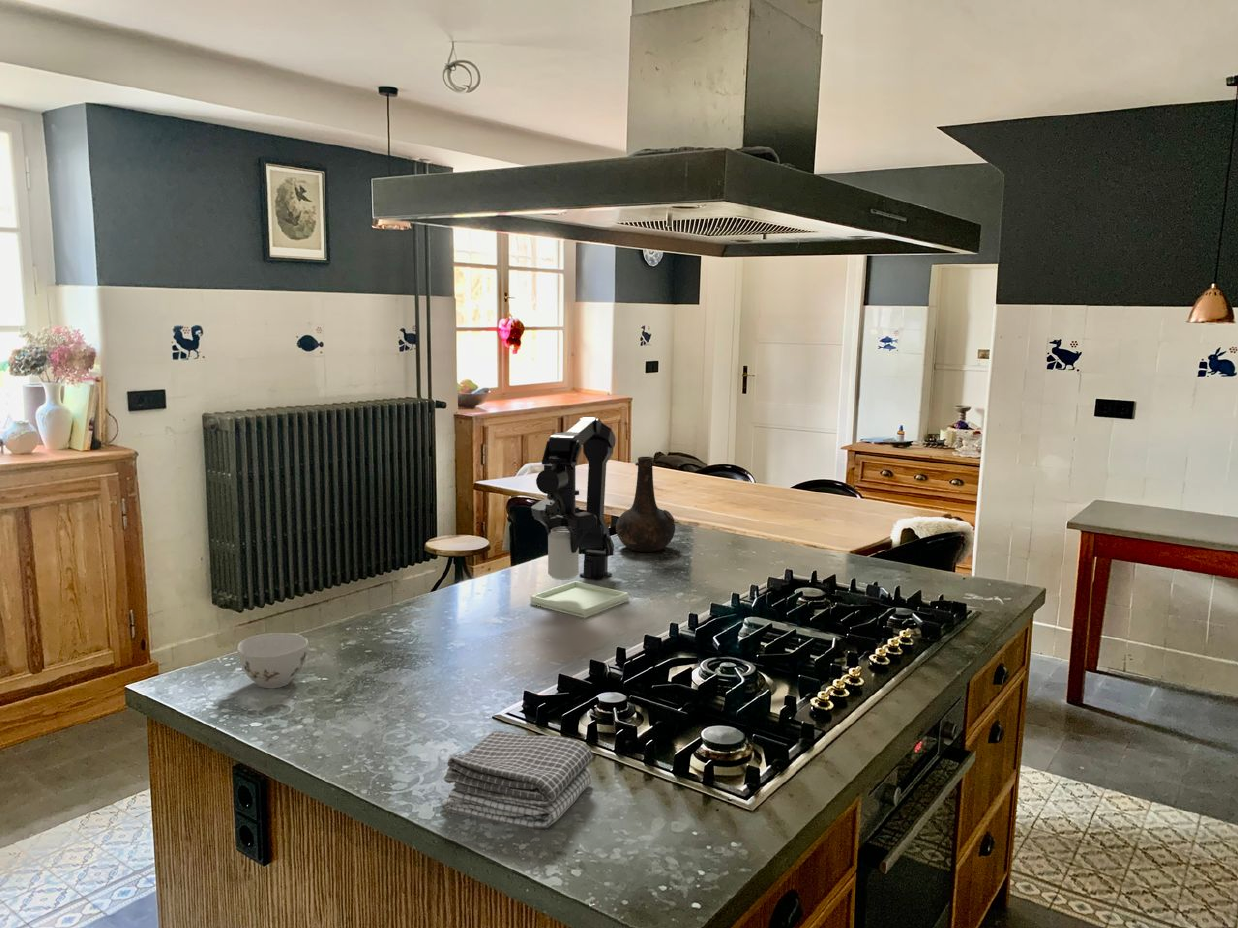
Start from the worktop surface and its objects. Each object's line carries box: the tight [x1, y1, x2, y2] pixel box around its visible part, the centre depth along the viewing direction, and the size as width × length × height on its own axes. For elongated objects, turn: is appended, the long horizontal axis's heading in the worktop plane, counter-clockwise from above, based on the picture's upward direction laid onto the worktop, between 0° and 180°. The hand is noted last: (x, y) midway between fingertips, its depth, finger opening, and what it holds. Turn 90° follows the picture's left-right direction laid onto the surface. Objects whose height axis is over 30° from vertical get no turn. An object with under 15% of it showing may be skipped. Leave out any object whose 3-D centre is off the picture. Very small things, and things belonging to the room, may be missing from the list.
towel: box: [440, 730, 595, 830], centre depth 135 cm, size 15×18×8 cm
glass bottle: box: [615, 456, 676, 553], centre depth 280 cm, size 18×18×28 cm
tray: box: [529, 580, 629, 619], centre depth 228 cm, size 17×17×2 cm
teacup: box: [237, 632, 309, 689], centre depth 177 cm, size 15×12×8 cm
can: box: [547, 526, 580, 581], centre depth 228 cm, size 8×8×12 cm
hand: (563, 549), depth 227 cm, fingers closed on can, 7 cm apart
